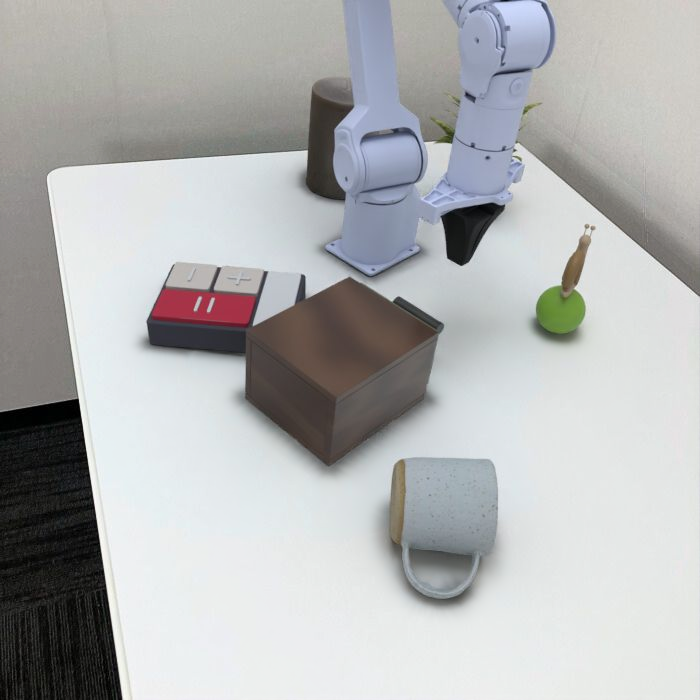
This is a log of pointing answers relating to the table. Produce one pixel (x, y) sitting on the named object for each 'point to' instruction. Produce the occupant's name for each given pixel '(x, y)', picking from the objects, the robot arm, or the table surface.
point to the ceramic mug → (444, 511)
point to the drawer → (417, 316)
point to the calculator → (219, 304)
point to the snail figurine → (565, 294)
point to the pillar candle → (327, 133)
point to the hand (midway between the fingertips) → (457, 260)
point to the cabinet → (338, 367)
